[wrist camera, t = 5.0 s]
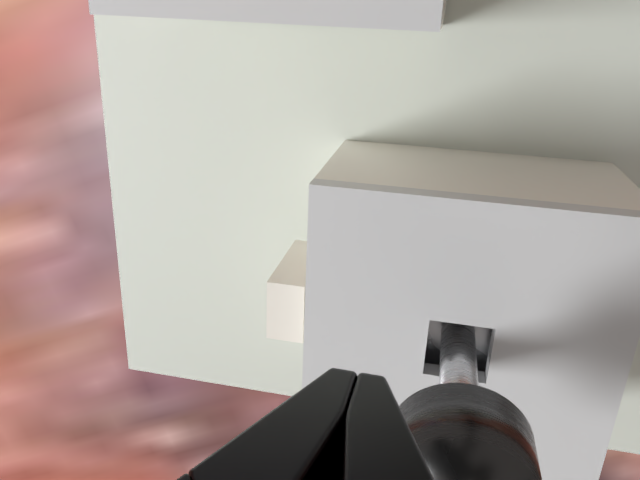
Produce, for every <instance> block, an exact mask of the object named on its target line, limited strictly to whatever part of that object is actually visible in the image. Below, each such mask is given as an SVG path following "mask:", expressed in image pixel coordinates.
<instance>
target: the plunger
mask: <svg viewBox="0 0 640 480" xmlns="http://www.w3.org/2000/svg"><path fill="white" fill-rule="evenodd" d="M491 335H492V329H491V328H483V327H476V326H469V325H462V324H454V323H447V322H440V321H433V320H430V321H429V329H428V337H427V345H426V352H425V360H424V363H430V364H437V365H440V369H439V384H437V385H433V386H429V387H427V388H424V389H421V390H419V391H417V392H416V393H414V394H412V395H411V396H409V397H408V398H407V399H406V400H404V401H403V402H402V403H401V404H400V406H399V407H400V409H401V411H402V413H403V416H404V418H405V420H406V422H407V424H408V426H409V428H410V430H411V432H412V434H413V436H414V438H415V441H416V443H417V445H418V447H419V449H420V451H421V453H422V455H423V457H424V459H425V461H426V464H427V466H428V468H429V470H430V472H431V474H432V476H433V478H434V480H542V477H541V472H540V466H539V461H538V456H537V450H536V445H535V440H534V435H533V431H532V429H531V426H530V424H529V422H528V420H527V419H526V417H525V416H524V414H523V413H522V412H521V411H520V409H518V408H517V407H516V406H515V405H514V404H513V403H512V402H511V401H509V400H508V399H507V398H505V397H504V396H502V395H500V394H499V393H497V392H494V391H492V390H490V389H487V388H484V387H481V386H479V384H478V371H484V372H485V369H486V363H487V357H488V352H489V346H490V340H491Z"/></svg>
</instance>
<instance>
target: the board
mask: <svg viewBox="0 0 640 480" xmlns="http://www.w3.org/2000/svg"><path fill="white" fill-rule="evenodd" d="M94 24H95V34H96V44H97V54H98V64H99V74H100V84H101V94H102V104H103V114H104V124H105V135H106V145H107V155H108V165H109V175H110V185H111V195H112V205H113V215H114V225H115V235H116V245H117V255H118V265H119V275H120V285H121V295H122V305H123V315H124V325H125V335H126V345H127V355H128V365H129V369H133V370H139V371H145V372H151V373H157V374H163V375H169V376H175V377H181V378H187V379H193V380H199V381H205V382H211V383H217V384H223V385H229V386H235V387H241V388H247V389H253V390H259V391H265V392H271V393H276V394H282V395H288V396H293V395H294V394H296V393H297V392H299V391H300V390H301V389H302V372H303V343H304V342H303V343H297V342H290V341H283V340H277V339H270V338H266V321H267V281H268V279H269V278H270V276H271V275H272V274H273V272H274V271H275V269H276V268H277V266H278V265H279V263H280V262H281V260H282V259H283V257H284V256H285V254H286V253H287V251H288V250H289V249H290V247H291V246H292V244H293V243H294V241H295V240H302V241H307V227H308V197H309V184H310V182H311V181H312V180H313V179H314V177H315V176H316V175H317V174H318V173H319V171H320V170H321V169H322V168H323V166H324V165H325V164H326V163H327V162H328V160H329V159H330V158H331V157H332V155H333V154H334V153H335V152H336V151H337V149H338V148H339V147H340V146H341V144H342V143H343V142H344V141H345V140H353V141H364V142H376V143H388V144H399V145H411V146H423V147H435V148H446V149H458V150H470V151H481V152H493V153H505V154H516V155H528V156H540V157H551V158H563V159H575V160H586V161H598V162H610V163H613V164H615V165H616V166H617V167H618V168H619V169H620V170H621V171H622V172H623V173H624V174H625V175H626V176H627V177H628V178H629V179H630V180H631V181H632V182H633V183H634V184H635V185H636V186H637V187H638V188H639V189H640V0H446V8H445V17H444V25H443V27H442V29H441V31H440V32H429V31H409V30H389V29H370V28H350V27H330V26H311V25H291V24H271V23H251V22H232V21H212V20H192V19H173V18H153V17H133V16H114V15H94ZM607 449H611V450H617V451H623V452H629V453H635V454H640V337H639V340H638V344H637V347H636V351H635V354H634V358H633V361H632V365H631V368H630V372H629V375H628V379H627V382H626V386H625V389H624V393H623V396H622V400H621V403H620V407H619V410H618V414H617V417H616V420H615V424H614V427H613V431H612V434H611V438H610V441H609V445H608V448H607Z"/></svg>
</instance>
